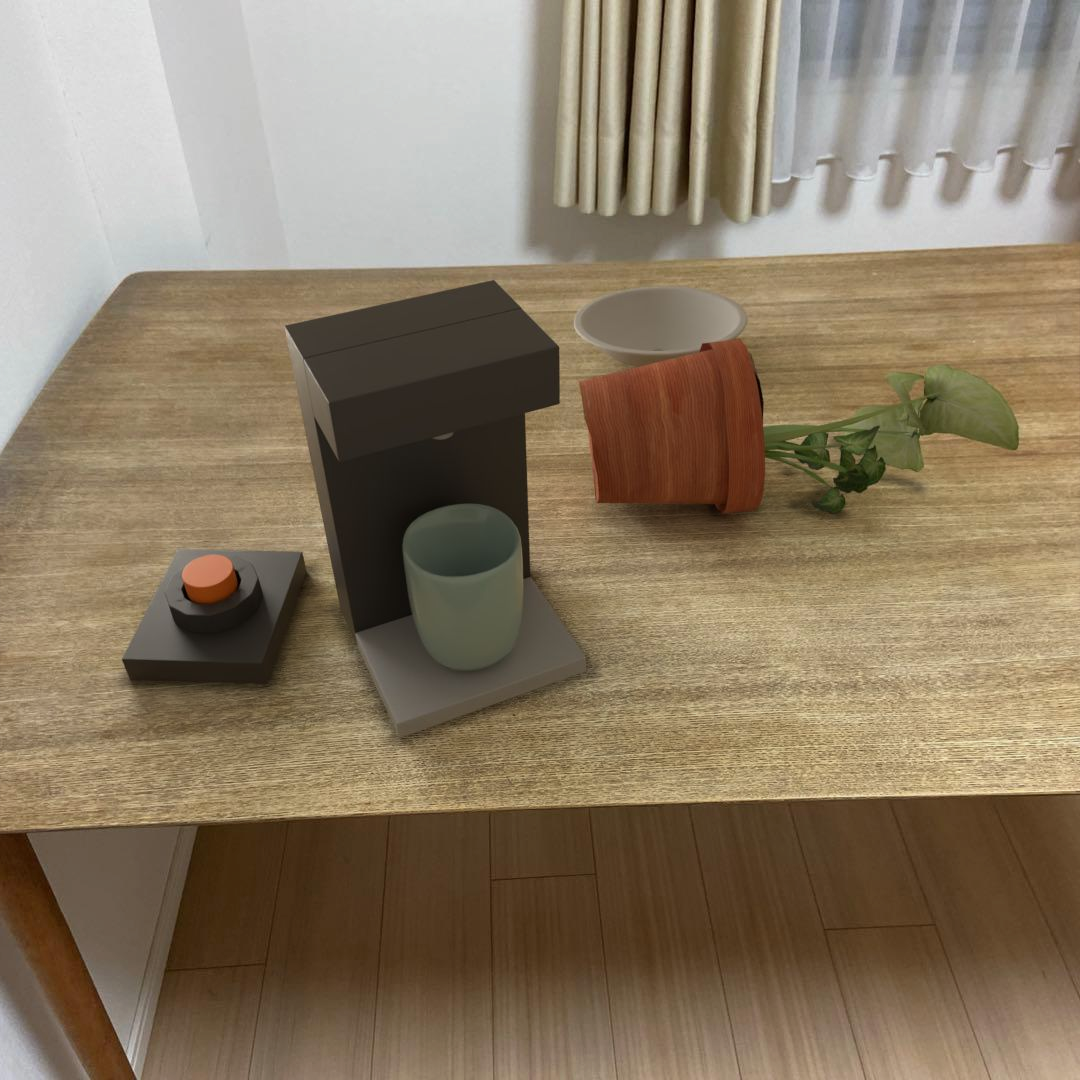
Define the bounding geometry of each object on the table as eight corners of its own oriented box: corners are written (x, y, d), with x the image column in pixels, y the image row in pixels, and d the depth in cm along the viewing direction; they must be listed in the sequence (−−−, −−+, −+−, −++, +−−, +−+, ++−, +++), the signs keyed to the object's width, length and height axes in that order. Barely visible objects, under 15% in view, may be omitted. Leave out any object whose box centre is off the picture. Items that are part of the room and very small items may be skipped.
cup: (507, 599, 76) (501, 492, 70) (540, 671, 70) (537, 562, 64) (405, 623, 74) (389, 516, 68) (430, 700, 69) (416, 590, 62)
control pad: (129, 680, 72) (113, 641, 70) (184, 569, 82) (171, 531, 79) (267, 684, 72) (256, 645, 69) (307, 572, 81) (298, 533, 79)
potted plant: (601, 577, 83) (1034, 527, 82) (586, 413, 74) (1073, 355, 73) (585, 473, 95) (960, 429, 94) (570, 322, 86) (985, 272, 85)
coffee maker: (586, 671, 72) (591, 377, 57) (399, 739, 68) (349, 440, 53) (508, 556, 82) (494, 279, 67) (340, 609, 78) (283, 325, 62)
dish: (716, 320, 112) (720, 278, 109) (763, 386, 101) (769, 342, 98) (560, 338, 110) (560, 295, 107) (591, 408, 99) (592, 363, 96)
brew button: (180, 604, 73) (174, 586, 72) (196, 571, 76) (190, 553, 75) (229, 605, 73) (224, 588, 72) (243, 572, 76) (239, 554, 75)
